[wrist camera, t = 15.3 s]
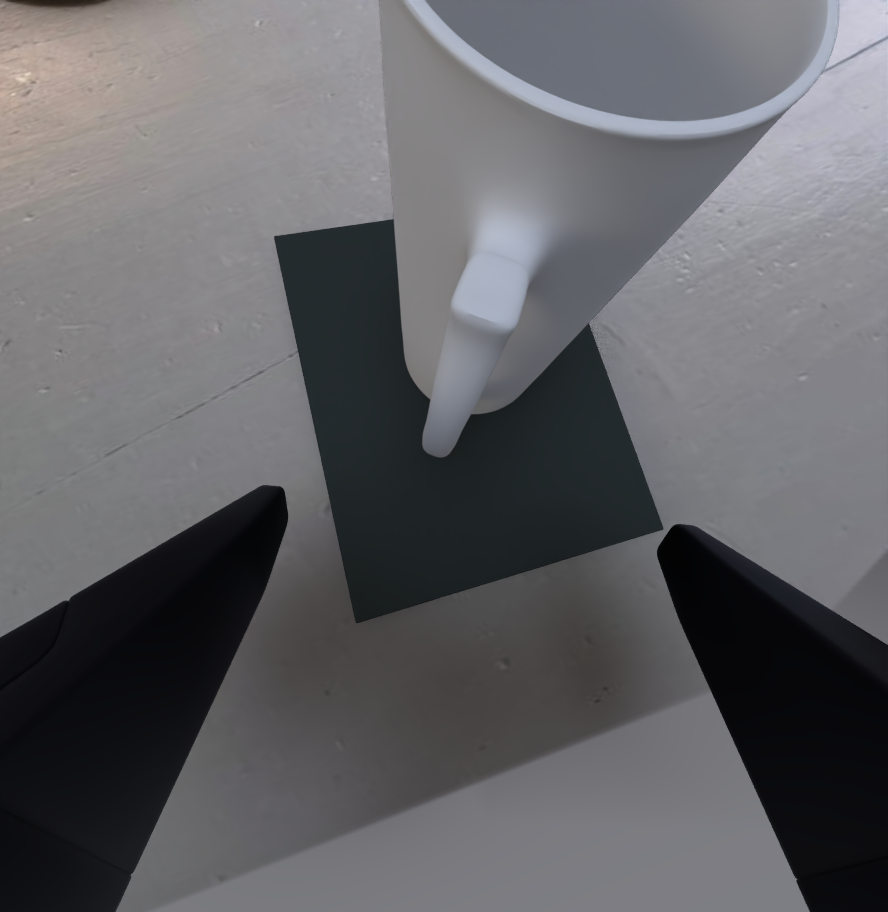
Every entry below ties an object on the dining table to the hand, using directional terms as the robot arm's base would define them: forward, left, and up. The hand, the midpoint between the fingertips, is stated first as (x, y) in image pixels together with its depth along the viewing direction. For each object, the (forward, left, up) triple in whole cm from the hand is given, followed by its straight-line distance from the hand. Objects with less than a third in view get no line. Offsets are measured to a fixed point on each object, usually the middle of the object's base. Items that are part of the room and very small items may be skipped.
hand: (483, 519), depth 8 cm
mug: (+6, -2, -7) cm, 10 cm away
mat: (+6, -2, -7) cm, 10 cm away
